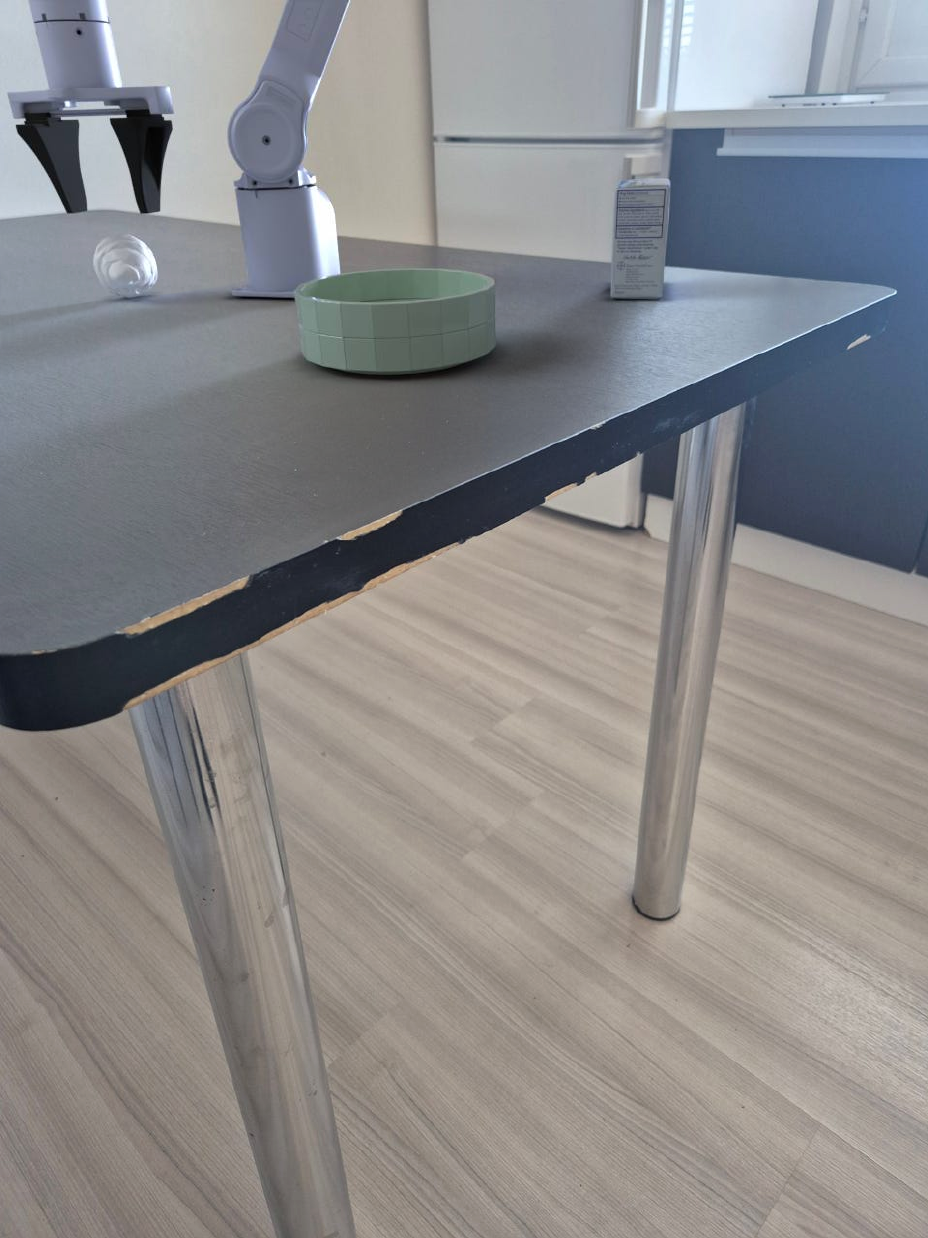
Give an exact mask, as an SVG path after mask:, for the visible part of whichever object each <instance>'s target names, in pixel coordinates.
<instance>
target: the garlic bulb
mask: <svg viewBox="0 0 928 1238" xmlns="http://www.w3.org/2000/svg"><path fill="white" fill-rule="evenodd" d="M92 264H93V269H94V271H95V274H96V276H97V278H98V280H99V282H100V284H101V285H102V287H103V288H104V289H105V290H106V291H107V292H108V293H110V294H112V295H115V296H122V297H123V298H124V297H125V298H127V299H133V298H138V297H141V296H143V295H145V294H146V293H147V291H149V290H150V289H151V288H152V287H153V286H154V284H156V282H157V280H158V267H157V263H156V258H155V256H154V254H153V252H152V250H151V249H150V248H149V247H148V246H147V244H146V243H145V242H144V241H142V240H141V239H139V238H137V237H136V236H134V235H131V234H128V233H127V234H126V233H117V234H111V235H108V236H106V237H104V238H103V239H101V241H100V242H99V243H98V244H97V245H96V247H95V251H94V255H93V258H92Z"/></svg>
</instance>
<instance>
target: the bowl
mask: <svg viewBox="0 0 928 1238" xmlns="http://www.w3.org/2000/svg"><path fill="white" fill-rule="evenodd" d="M494 279H495V278H493V277H490V276H488V275H485V274H483V273H479V272H473V271H468V270H461V269H460V270H459V269H448V268H423V267H421V268H420V267H419V268H418V267H414V268H413V267H411V268H410V267H409V268H408V267H407V268H383V269H382V268H381V269H371V270H361V271H350V272H345V273H340V274H337V275H331V276H326V277H322V278H318V279H313V280H310V281H308V282H305V283H303V284H300V285H298V286H297V288H296V289H295V290H294V297H295V298H294V304H295V312H296V321H297V329H298V335H299V337H298V338H299V344H300V351H301V354H302V355H303V357H304V358H305V360H306V361H308V362H310V363H313V364H316V365H318V366H321V367H324V368H331V369H334V370H336V371H337V370H338V371H342V372H346V373H353V374H360V375H376V376H393V375H394V376H395V375H411V374H414V375H415V374H422V373H429V372H430V373H431V372H436V371H442V370H445V369H451V368H453V367H457V366H460V365H463V364H465V363H468V362H471V361H474V360H476V359H479V358H481V357H483V356H486V355H489V354H490V352H492V351H493V350H494V349H495V348H496V344H497V343H496V341H497V339H496V283H495V280H494Z"/></svg>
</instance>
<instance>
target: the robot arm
mask: <svg viewBox="0 0 928 1238" xmlns="http://www.w3.org/2000/svg"><path fill="white" fill-rule="evenodd" d="M350 3H351V0H286V2H285V4H284V7H283V11H282V13H281V16H280V19H279V23H278V24H277V25H278V26H277V28H276V31H275V34H274V37H273V40H272V42H271V45H270V48H269V51H268V54H266V55H267V56H266V58H265V60H264V61H263V64H262V67H261V69H260V71H259V73H258V76H257V78H256V79H257V80H256V82H255V84H254V87H253V89H252V91H251V92H250V93H249V95H248V96H247V98H245V99H244V100H243V101H242V102H241V103H239V104H238V105H237V106H236V108H235V109H234V110H233V112H232V114H231V116H230V118H229V121H228V125H227V137H226V138H227V144H228V149H229V152H230V154H231V157H232V159H233V161H234V162H235V164H236V165H237V166H238V168H239V169H240V170H241V171H242V173H241V176H240V178H239V179H236V180H233V186H234V187H235V189H234V193H235V200H236V207H237V213H238V219H239V227H240V232H241V233H240V234H241V239H242V246H243V252H244V253H243V254H244V260H245V266H246V272H247V280H248V284H246V285H244V286H240V287H238V288H235V289H231V296H232V297H251V298H284V299H285V298H287V299H288V298H289V299H290V298H291V299H295V297H294V290H295V289H296V288H297V286H298V285H300V284H303V283H305V282H308V281H310V280H313V279H318V278H322V277H326V276H331V275H337V274H341V266H340V256H339V246H338V235H337V234H338V233H337V225H336V224H337V223H336V215H335V210H334V207H333V205H332V203H331V200H330V199H329V197H328V196H327V195H326V193H325V192H324V191H323V190H322V189H320V188H319V187H318V185H317V184H316V183H317V178H316V174H313V173H311V172H310V171H308V170H307V169H306V167H304V166H301V165H302V163H303V161H304V160H305V157H306V154H307V150H308V132H307V126H308V118H309V115H310V111H311V109H312V106H313V104H314V101H315V97H316V96H317V91H318V89H319V86H320V83H321V80H322V78H323V76H324V73H325V70H326V67H327V64H328V61H329V59H330V56H331V53H332V51H333V48H334V45H335V43H336V40H337V37H338V35H339V32H340V29H341V27H342V24H343V22H344V18H345V16H346V14H347V11H348V9H349V8H348V7H349V5H350ZM28 5H29V9H30V13H31V16H32V17H31V19H32V22H33V25H34V30H35V34H36V39H37V43H38V48H39V52H40V56H41V59H42V64H43V68H44V73H45V77H46V81H47V85H48V88H46V89H40V90H27V91H25V90H24V91H10V92H9V91H7V92H6V94H7V98H8V103H9V105H10V110H11V114H12V117H13V119H14V120H19V119H20V120H21V119H22V120H24V121H23V124H22V123H21V124H15V129H16V133H17V135H18V136H19V137H20V138H21V139H22V141H24V143H25V144H26V145H27V147H28V148H29V149H30V150H31V152H32V153H33V154H34V156H35V157H36V158H37V160H38V162H39V163H40V164H41V167H42V168H43V170H44V171H45V173H46V174H47V177H48V178H49V180H50V182H51V183H52V184H51V185H52V186H53V188H54V190H55V192H56V194H57V196H58V198H59V200H60V202H61V204H62V206H63V208H64V210H65V212H66V214H79V213H85V212H88V198H87V194H86V189H85V184H84V179H83V174H82V169H81V160H80V120H79V119H62V118H76V117H81V118H82V117H102V116H103V117H107V116H108V117H109V116H125V117H109V123H110V125H111V127H112V129H113V131H114V134H115V136H116V138H117V140H118V143H119V145H120V148H121V150H122V153H123V155H124V158H125V162H126V165H127V169H128V171H129V175H130V180H131V181H130V182H131V185H132V190H133V194H134V198H135V203H136V205H137V208H138V210H139V214H141V215H148V214H154V213H160V212H161V200H162V199H161V198H162V197H161V195H162V179H163V168H164V164H165V163H164V162H165V157H166V153H167V148H168V145H169V141H170V139H171V135H172V133H173V129H174V127H173V126H174V125H173V121H172V119H165V116H163V115H174V114H175V112H174V106H173V101H172V94H171V89H170V88H171V87H170V86H164V85H162V86H159V85H153V86H152V85H151V86H150V85H149V86H123V82H122V77H121V71H120V66H119V60H118V56H117V50H116V47H115V46H116V45H115V39H114V36H113V31H112V26H111V22H110V21H111V20H110V16H109V11H108V5H107V0H28ZM89 102H90V103H92V102H103V105H104V106H105V107H118V108H96V109H95V108H91V109H90V108H89V109H72V108H77V107H78V104H77V103H89ZM64 108H65V109H64ZM66 108H68V109H66ZM70 108H71V109H70Z"/></svg>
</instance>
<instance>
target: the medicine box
mask: <svg viewBox="0 0 928 1238" xmlns="http://www.w3.org/2000/svg"><path fill="white" fill-rule="evenodd" d="M670 201H671V180H670V179H669V178H633V179H626V180H622V181H620V183H619V184H618V186H617V188H615V191H614V201H613V217H612V219H613V220H612V243H611V265H610V298H611V299H616V300H617V299H618V300H661V298H663V293H664V283H665V281H664V280H665V267H666V256H667V255H666V253H667V241H668V229H669V216H670V204H671V203H670Z"/></svg>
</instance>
